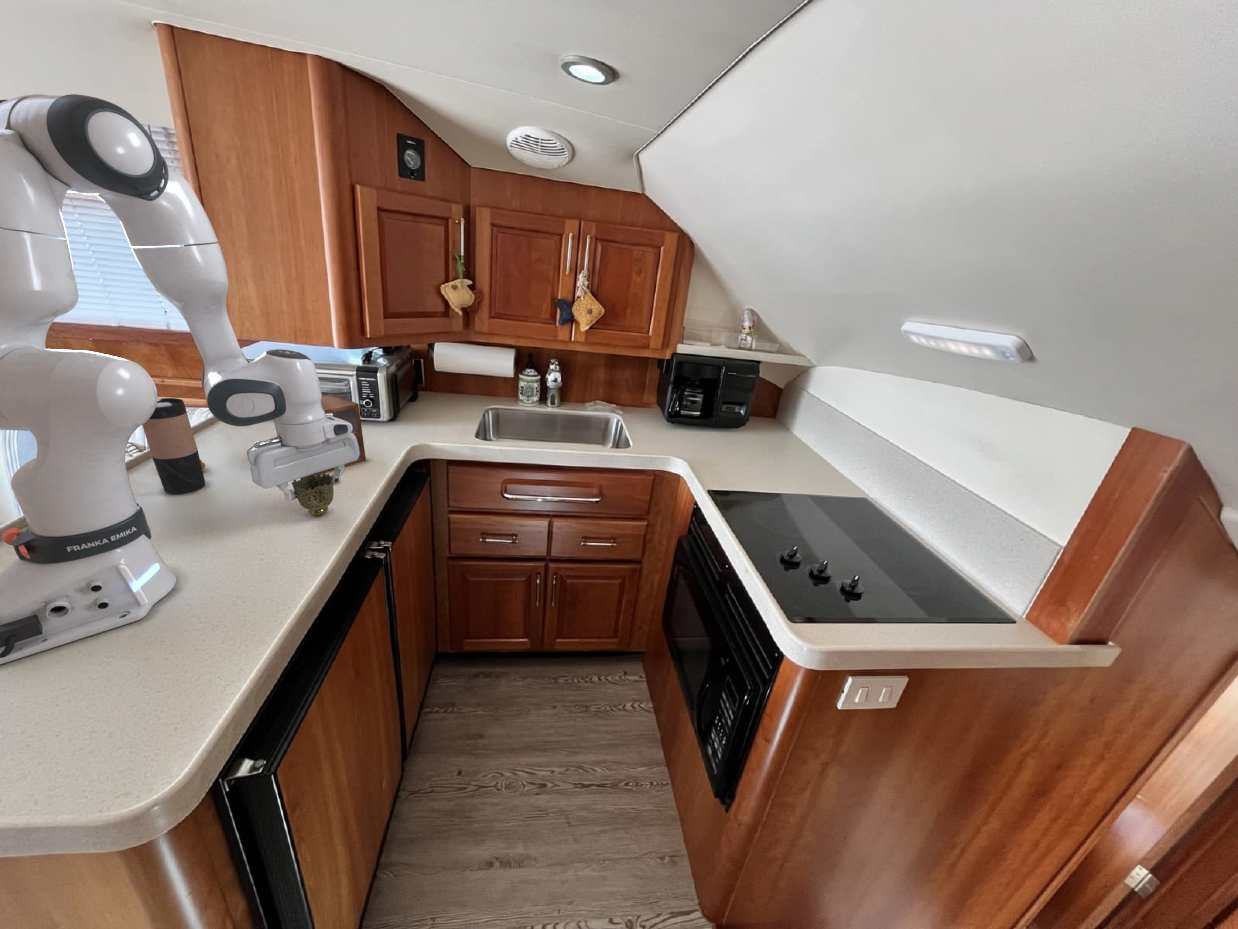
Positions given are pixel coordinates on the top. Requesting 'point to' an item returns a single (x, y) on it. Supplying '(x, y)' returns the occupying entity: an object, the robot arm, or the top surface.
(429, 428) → the top surface
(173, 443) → the travel mug
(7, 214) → the robot arm
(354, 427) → the shelf
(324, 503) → the cup
